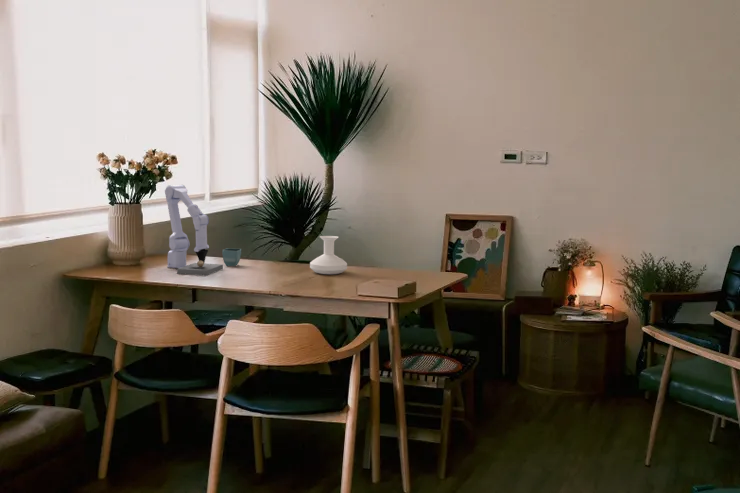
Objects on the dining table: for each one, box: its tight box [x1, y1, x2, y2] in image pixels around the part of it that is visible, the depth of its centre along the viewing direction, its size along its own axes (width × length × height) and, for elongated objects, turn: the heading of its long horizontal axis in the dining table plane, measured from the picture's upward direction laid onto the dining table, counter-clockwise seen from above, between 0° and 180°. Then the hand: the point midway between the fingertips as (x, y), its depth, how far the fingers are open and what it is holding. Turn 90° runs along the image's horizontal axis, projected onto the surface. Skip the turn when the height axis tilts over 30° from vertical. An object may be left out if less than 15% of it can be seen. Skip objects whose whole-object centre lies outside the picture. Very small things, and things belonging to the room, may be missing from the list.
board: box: [176, 262, 224, 276], centre depth 425 cm, size 16×22×2 cm
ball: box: [196, 259, 205, 267], centre depth 424 cm, size 4×4×4 cm
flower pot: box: [221, 247, 242, 267], centre depth 447 cm, size 9×9×9 cm
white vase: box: [309, 235, 348, 275], centre depth 431 cm, size 20×20×19 cm
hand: (201, 263), depth 425 cm, fingers closed, pressing on ball
